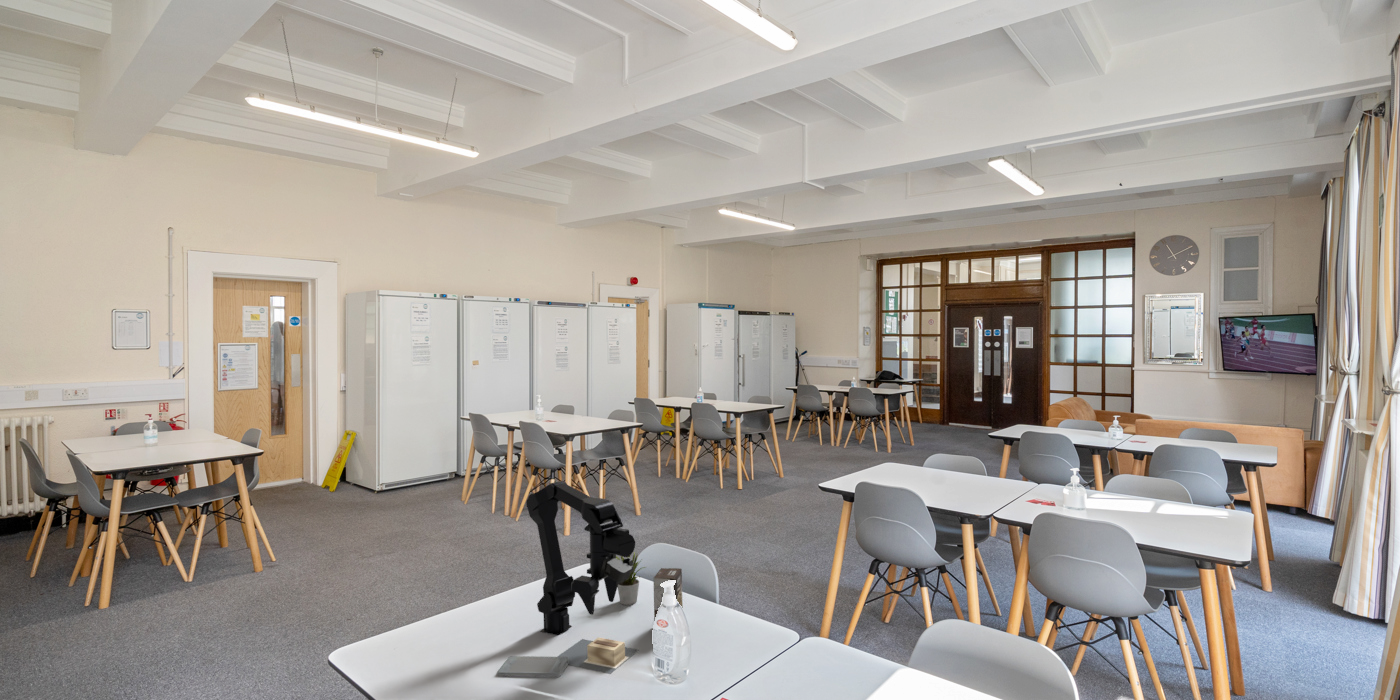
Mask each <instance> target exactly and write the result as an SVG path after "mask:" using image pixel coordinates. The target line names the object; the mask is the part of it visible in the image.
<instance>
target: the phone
mask: <svg viewBox="0 0 1400 700" xmlns="http://www.w3.org/2000/svg"><path fill="white" fill-rule="evenodd" d="M568 663H569V658H568V657H557V656H533V655H531V656H525V655H524V656H523V655H522V656H520V655H519V656H515V655H514V656H513V655H511V656H508V657H507V659H506V660H505V661H504V662H503V664H502V665H501V666H500V668H499V669H498V670H497V672H496V675H497V676H498V677H516V678H517V677H519V678H520V677H522V678H525V677H526V678H554V679H558V678H560V677H561V676H562V675H563V672H565V669H566V668H567V667H568V666H569V665H568Z"/></svg>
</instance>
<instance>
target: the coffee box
mask: <svg viewBox="0 0 1400 700" xmlns="http://www.w3.org/2000/svg"><path fill="white" fill-rule="evenodd" d="M682 571H683V570H682V568H680V567H679V568H676V567H675V568H674V567H673V568H672V567H671V568H669V567H668V568H666V567H665V568H662V567H660V569H659V570H658V572H656V574H655V576H654V577H653V610H654V611H653V613H654V614H653V615H654V618H653V619H654V621H655V617H656V614H657V611H658V608H659V607H660V605H661V602H662V597H663V593H664V588H663V587H661V586H660V584H661V583H663V582H665V581H668V580H676V583H675V585H674V590H675V595H676V599H677V601H678V602H679V604H680V605H681V606H682V608H683V609H684V607H683V606H684V605H683V601H684V600H683V573H682Z"/></svg>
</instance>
